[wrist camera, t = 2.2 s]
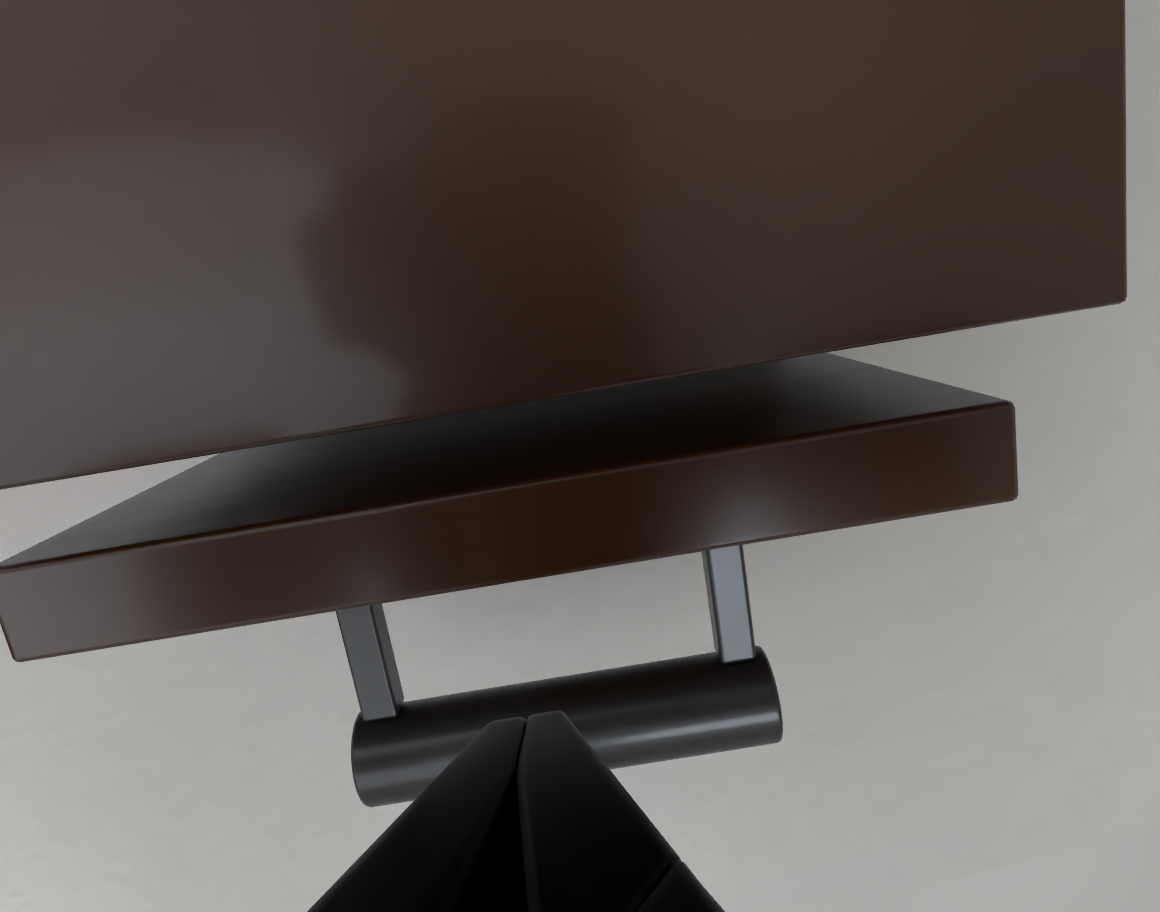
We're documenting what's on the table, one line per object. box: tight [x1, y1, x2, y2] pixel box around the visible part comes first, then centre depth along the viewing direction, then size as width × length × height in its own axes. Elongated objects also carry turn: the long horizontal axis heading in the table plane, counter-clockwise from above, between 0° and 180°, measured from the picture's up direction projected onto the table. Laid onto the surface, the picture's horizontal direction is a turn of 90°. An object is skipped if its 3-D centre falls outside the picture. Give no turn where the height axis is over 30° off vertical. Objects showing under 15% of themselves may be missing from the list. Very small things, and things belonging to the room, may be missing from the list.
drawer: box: [0, 353, 1018, 807], centre depth 12 cm, size 18×12×8 cm, turn 9°
